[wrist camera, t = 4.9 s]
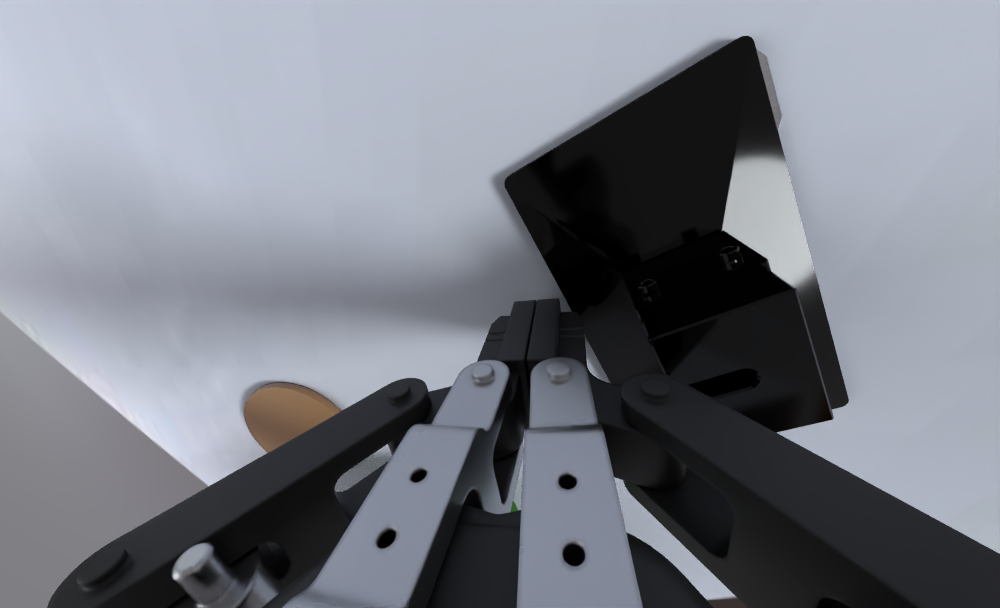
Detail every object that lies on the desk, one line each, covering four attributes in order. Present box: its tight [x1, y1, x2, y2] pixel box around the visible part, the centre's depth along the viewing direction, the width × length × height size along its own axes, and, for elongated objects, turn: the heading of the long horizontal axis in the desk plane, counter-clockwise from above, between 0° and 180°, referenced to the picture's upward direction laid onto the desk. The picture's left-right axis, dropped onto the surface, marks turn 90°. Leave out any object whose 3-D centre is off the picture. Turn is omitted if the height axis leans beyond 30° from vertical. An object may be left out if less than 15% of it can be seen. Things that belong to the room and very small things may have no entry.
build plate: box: [505, 36, 849, 432], centre depth 10 cm, size 12×7×5 cm, turn 30°
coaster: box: [244, 383, 341, 453], centre depth 18 cm, size 6×6×1 cm
